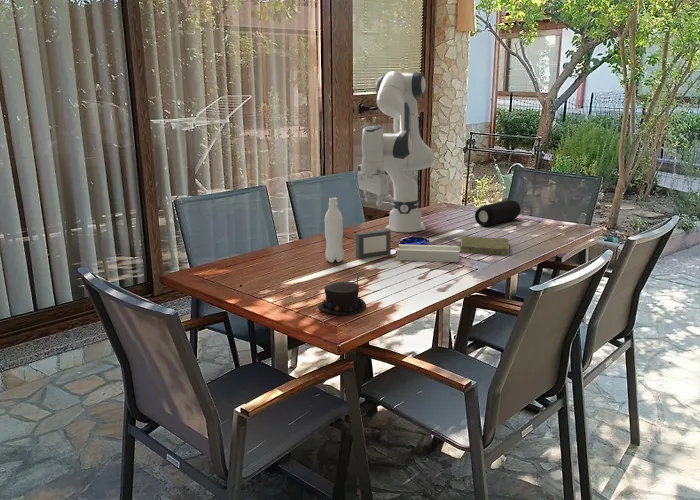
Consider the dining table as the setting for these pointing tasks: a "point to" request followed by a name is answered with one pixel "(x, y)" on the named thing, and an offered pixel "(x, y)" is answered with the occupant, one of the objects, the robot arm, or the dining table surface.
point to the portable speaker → (497, 212)
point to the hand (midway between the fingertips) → (373, 203)
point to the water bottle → (333, 232)
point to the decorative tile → (484, 245)
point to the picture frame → (373, 244)
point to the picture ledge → (428, 253)
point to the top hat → (343, 299)
